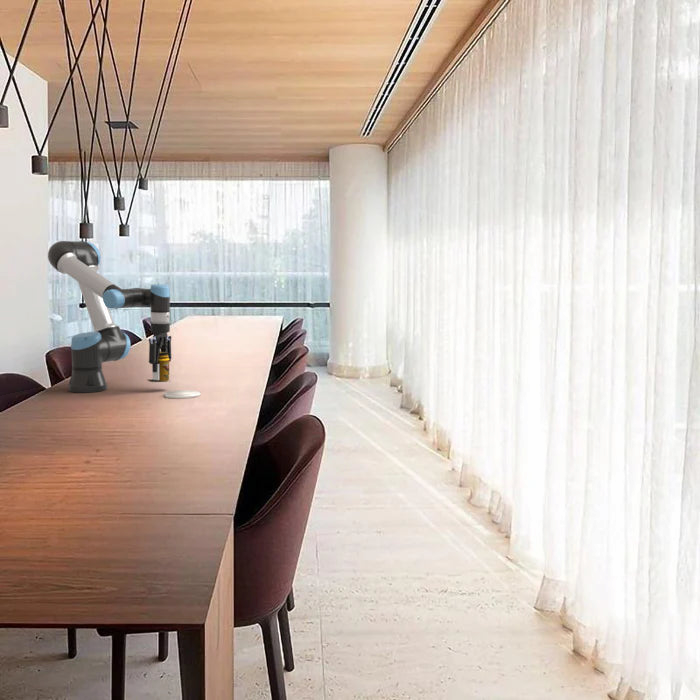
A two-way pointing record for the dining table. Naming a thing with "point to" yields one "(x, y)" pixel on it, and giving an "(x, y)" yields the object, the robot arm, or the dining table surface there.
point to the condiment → (163, 368)
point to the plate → (182, 394)
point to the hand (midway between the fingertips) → (160, 378)
